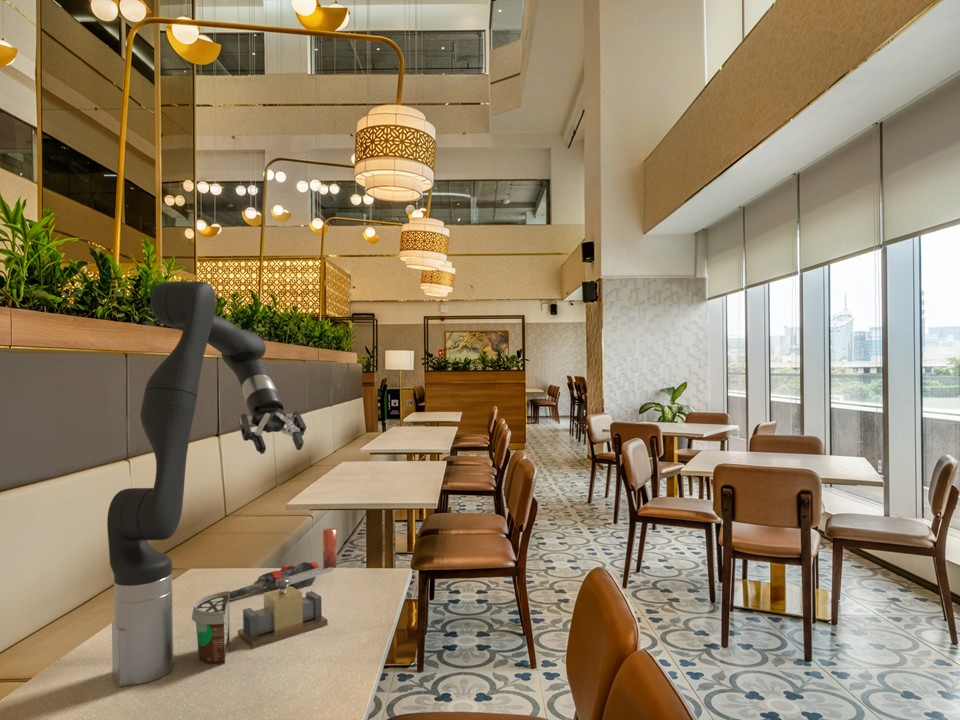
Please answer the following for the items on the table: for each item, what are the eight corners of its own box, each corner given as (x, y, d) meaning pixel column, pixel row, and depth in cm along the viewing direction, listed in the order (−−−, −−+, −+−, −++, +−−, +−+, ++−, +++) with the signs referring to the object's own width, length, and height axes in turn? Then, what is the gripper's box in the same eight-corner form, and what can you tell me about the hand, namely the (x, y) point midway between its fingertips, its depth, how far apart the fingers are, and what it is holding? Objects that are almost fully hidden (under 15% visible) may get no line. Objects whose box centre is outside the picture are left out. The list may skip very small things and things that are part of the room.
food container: (197, 644, 122) (196, 593, 122) (230, 639, 123) (229, 589, 124) (187, 672, 110) (186, 617, 110) (224, 667, 112) (223, 612, 112)
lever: (280, 589, 125) (280, 544, 126) (272, 586, 127) (272, 542, 127) (339, 570, 137) (339, 529, 137) (331, 567, 139) (331, 527, 139)
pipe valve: (252, 648, 119) (251, 602, 119) (237, 635, 125) (237, 591, 125) (327, 625, 129) (326, 582, 130) (310, 614, 135) (310, 573, 136)
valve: (303, 576, 168) (330, 580, 157) (206, 607, 150) (228, 614, 139) (300, 552, 169) (326, 555, 158) (203, 581, 151) (225, 586, 140)
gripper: (235, 387, 139) (255, 441, 130) (294, 385, 149) (316, 435, 140) (227, 410, 143) (246, 463, 134) (286, 406, 153) (307, 456, 144)
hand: (282, 449), depth 137 cm, fingers open, 8 cm apart
